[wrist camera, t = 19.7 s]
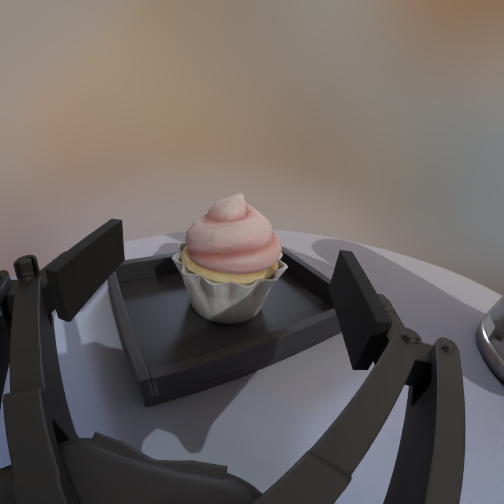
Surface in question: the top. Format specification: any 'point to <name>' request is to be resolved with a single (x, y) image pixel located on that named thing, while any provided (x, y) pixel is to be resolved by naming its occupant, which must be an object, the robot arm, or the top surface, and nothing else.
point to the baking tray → (212, 327)
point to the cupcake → (229, 261)
